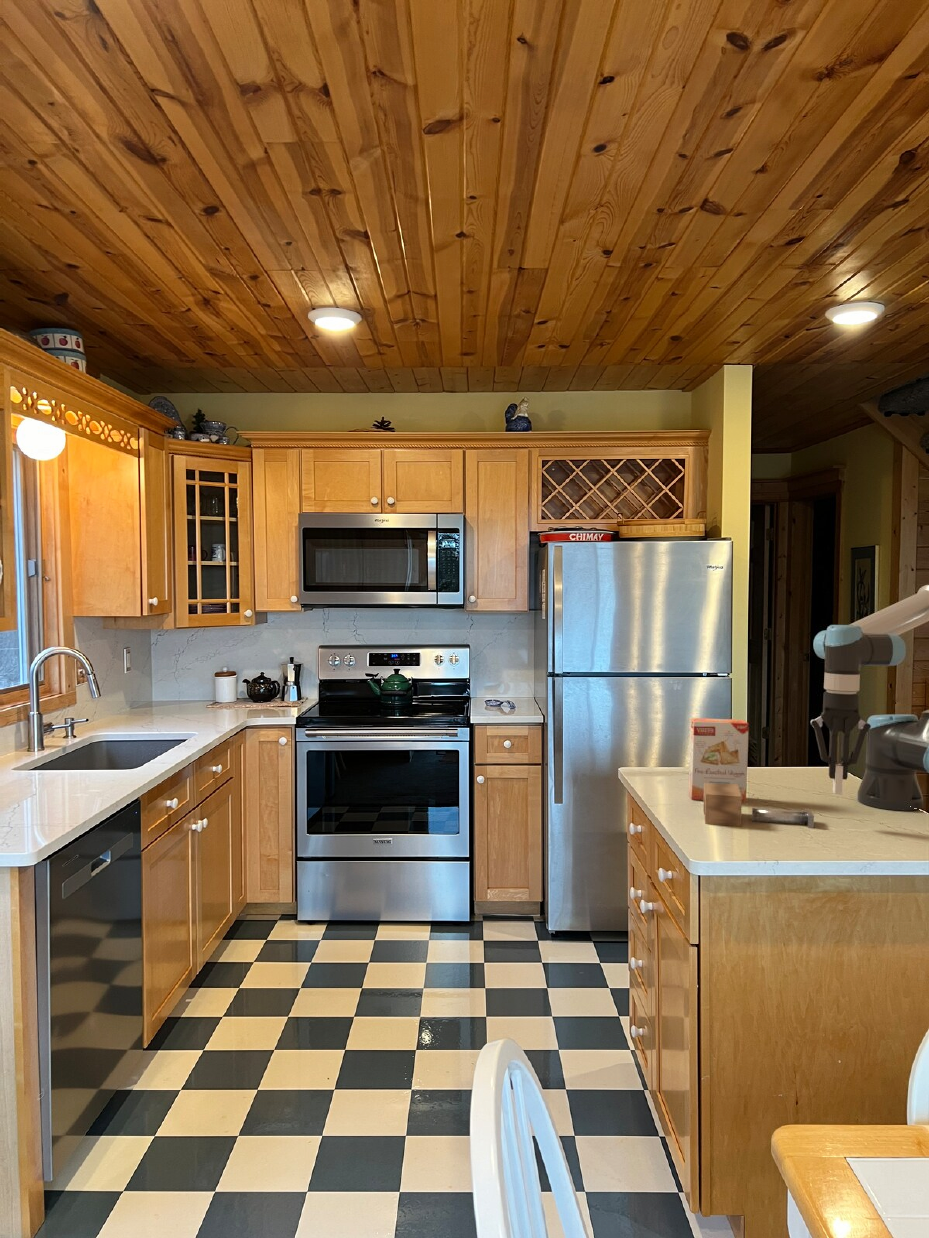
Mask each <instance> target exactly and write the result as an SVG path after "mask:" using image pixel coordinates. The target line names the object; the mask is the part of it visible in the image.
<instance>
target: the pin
mask: <svg viewBox="0 0 929 1238" xmlns="http://www.w3.org/2000/svg"><path fill="white" fill-rule="evenodd" d="M751 821H752V822H761V823H763V822H764V823H776V824H777V823H778V824H791V825H802V826H803V825H805V826H806V827H807V828H808V829H815V828H814V825H815V815H814V813H813V812H812V810H811V809H810V808H804V809H803V810H802V811H801V810H787V809H786V810H785V809H774V808H773V809H771V808H758V807H757V808H756V807H752V808H751Z"/></svg>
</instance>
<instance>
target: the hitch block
mask: <svg viewBox="0 0 929 1238" xmlns="http://www.w3.org/2000/svg"><path fill="white" fill-rule="evenodd" d="M742 803H743V802H742V796H741V793H740V790H739V787H738V785H735V784H719V783H704V800H703V804H702V805H703V811H702V812H703V815H704V824H706V825H716V826H717V825H718V826H733V827H742Z"/></svg>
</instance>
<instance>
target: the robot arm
mask: <svg viewBox="0 0 929 1238" xmlns="http://www.w3.org/2000/svg"><path fill="white" fill-rule="evenodd" d="M928 622H929V583H927V584H925V585H923V586H921V587H920V588H919V589H918V591H917V593H915V594H913V595H911V596H908V597H907V598H904V599H902V600H900V601H897V602H896V603H894V604H891V605H889V606H887V607H885V608H883V609H880V610H879V611H875V612H874V613H872V614H870V615H868V616H865V617H863V618H861V619H859V620H856V621H854V622H853V623H850V624H830V625H829V626H827V628H826V630H821V631H819V632H818V633H817V634H816V635H815V636H814V639H813V650H814V652H815V654H816V656H817V657H818V658H820V659H822V660H823V659H824V675H823V676H824V678H823V679H824V680H823V681H824V682H823V689H824V690H825V691H824V692H823V696H822V697H823V698H822V699H823V700H822V701H823V702H822V711H821V712H820V714H819V715H820V716H818V717H817V718H815V719H814V718H812V719H810V721H809V723H810V725H811V727H813V729H814V732H815V737H816V742H817V743H816V744H817V747H818V751H819V756H820V759H821V760H822V761H823V762H824V763H827V764H828V777H829V778H830V780H831V779H832V782H833V783H832V792H833V793H834V794H835V795H842V794H843V781H844V780H847V779H848V774H849V773H848V770H849V766H850V765H855V764H857V763H858V760H859V756H860V754H861V749H862V746H863V743H864V740H865V772H864V775H863V777H862V779H861V782H860V784H859V787H858V790H857V801H858V802H860V803H861V804H862V805H866V806H868V807H873V808H879V809H883V810H890V811H891V810H893V811H917V810H916V809H914V808H917V809H918V810H921V809H923V808H924V796H923V794H922V793H923V792H922V790H921V788H920V785H919V784H920V783H919V781H918V778H917V777H918V776H917V771H919V772H922V773H925V774H926V773H927V774H929V709H927V710H924V711H922V712H921V714H920V718H919V719H918V716H917V715H916V714H905V713H904V714H899V713H896V714H874V715H870V716H869V717H868V718H867V721H865V720H862V719H861V717H862V716H861V714H860V712H859V710H860V708H859V706H860V695H859V693H857V692H859V691H860V682H861V681H860V680H861V678H860V677H861V676H860V675H861V667H865V666H868V667H886V668H887V667H891V666H893V667H894V666H897V665H900V664H901V663H902V662H903V661H904V659H905V657H906V654H907V647H906V643H905V640H903V638H902V637H900V635H903V634H904V633H906V632H908V631H910V630H913V629H914V628H916V627H919V626H921V625H923V624H925V623H928ZM823 722H824V724H825V726H826V727H827V729H828V730H829V748H828V750H829V751H828V752H827V747H826V744H825V739H824V735H823V734H824V733H823V730H822V727H823ZM856 726H857V728H858V731H857V732H856V735H855V739H854V742H853V745H852V749H851V752H850V737H851V731H852V730H853V729H854V728H855V727H856ZM839 732H841V733H840V735H841V743H840V745H841V749H840V763H837V759H838V758H837V756H838V755H837V753H838V736H839ZM910 806H911V807H910Z"/></svg>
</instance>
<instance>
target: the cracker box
mask: <svg viewBox="0 0 929 1238" xmlns="http://www.w3.org/2000/svg"><path fill="white" fill-rule="evenodd" d="M749 724H750V723H748V722H747V721H746V720H745V719H731V718H728V719H727V718H707V717H706V718H703V717H702V718H699V717H690V733H689V734H690V735H689V737H690V739H689V771H688V772H689V774H688V795H689V798H690V799H691V800H692V801H697V800H698V801H704V783H719V784H735V785H738V787H739V790H740V793H741V796H742V803H746V802H747V789H748V788H747V786H748V785H747V784H748V756H749V755H748V754H749V753H748V752H749Z"/></svg>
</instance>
